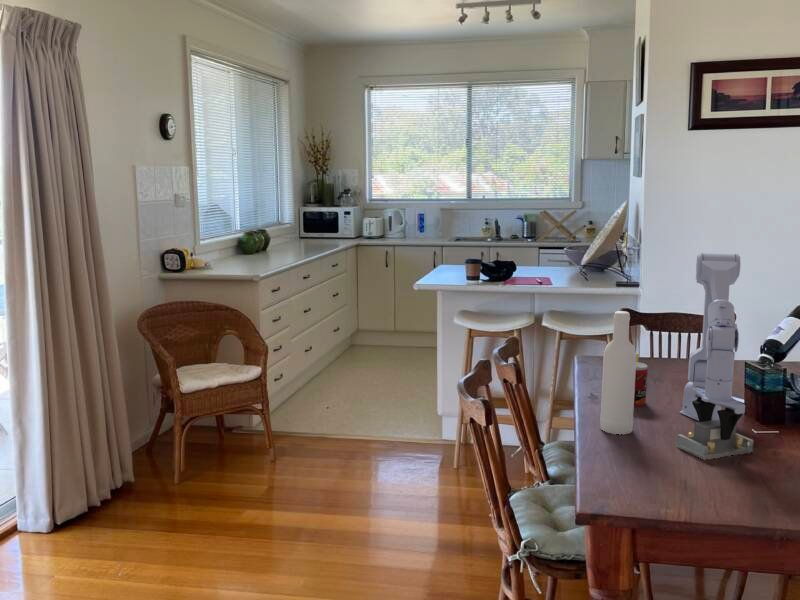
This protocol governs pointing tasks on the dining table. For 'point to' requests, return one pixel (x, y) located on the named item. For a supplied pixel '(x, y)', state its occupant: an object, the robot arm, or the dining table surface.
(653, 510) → the dining table surface
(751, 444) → the pin tray
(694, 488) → the dining table surface
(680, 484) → the dining table surface
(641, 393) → the canned food
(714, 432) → the block
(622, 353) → the bottle
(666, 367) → the dining table surface
